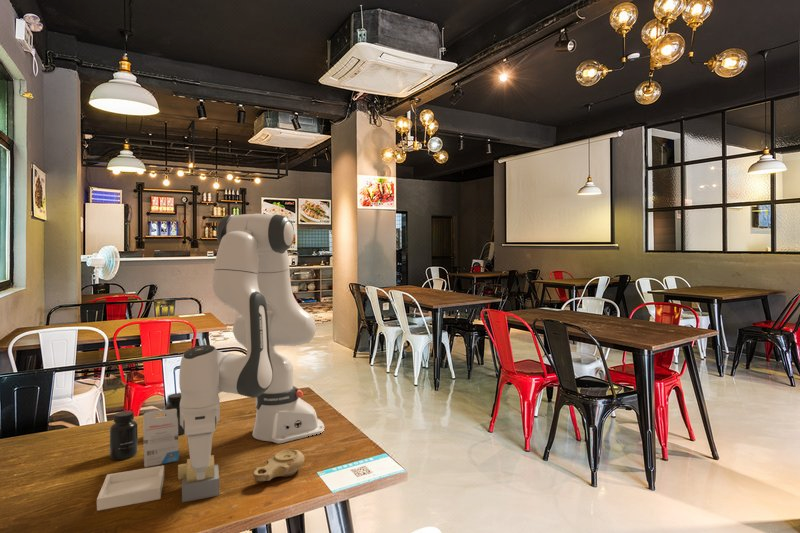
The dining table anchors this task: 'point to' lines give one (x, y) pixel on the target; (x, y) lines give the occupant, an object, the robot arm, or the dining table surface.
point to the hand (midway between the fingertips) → (200, 471)
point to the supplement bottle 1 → (123, 436)
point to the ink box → (160, 437)
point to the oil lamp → (280, 465)
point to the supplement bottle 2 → (175, 404)
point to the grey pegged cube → (201, 487)
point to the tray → (131, 487)
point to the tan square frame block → (191, 475)
